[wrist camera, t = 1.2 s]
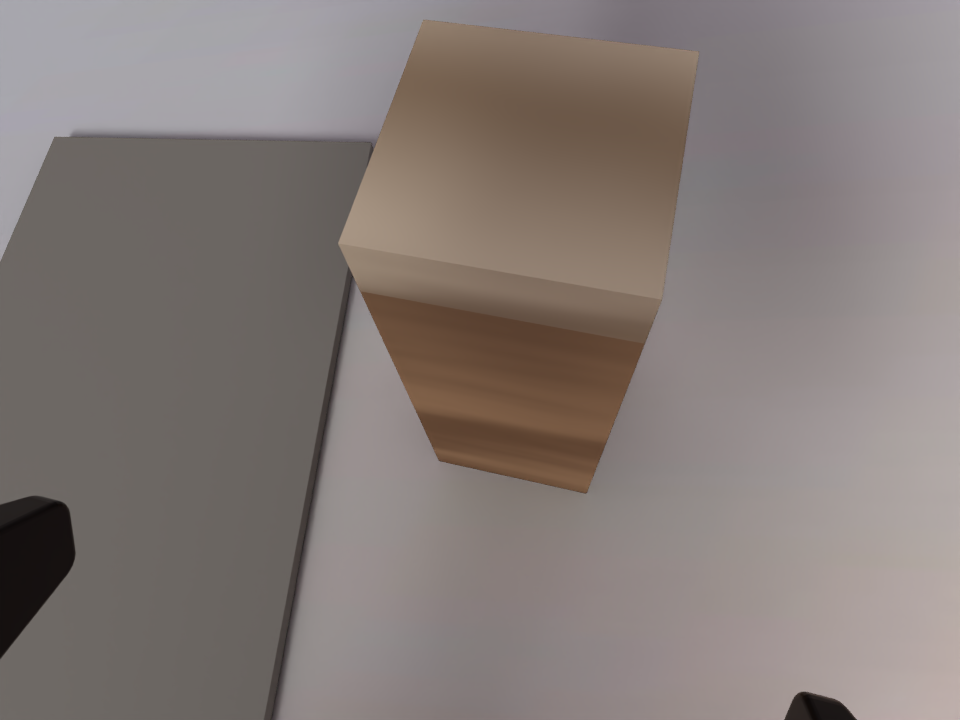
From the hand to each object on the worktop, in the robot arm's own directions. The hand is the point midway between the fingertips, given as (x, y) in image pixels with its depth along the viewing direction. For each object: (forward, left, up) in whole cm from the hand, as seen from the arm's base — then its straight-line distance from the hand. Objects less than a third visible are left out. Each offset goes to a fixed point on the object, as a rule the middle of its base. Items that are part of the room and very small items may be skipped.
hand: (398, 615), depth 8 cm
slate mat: (+6, +13, -13) cm, 19 cm away
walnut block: (+7, -1, -13) cm, 15 cm away
